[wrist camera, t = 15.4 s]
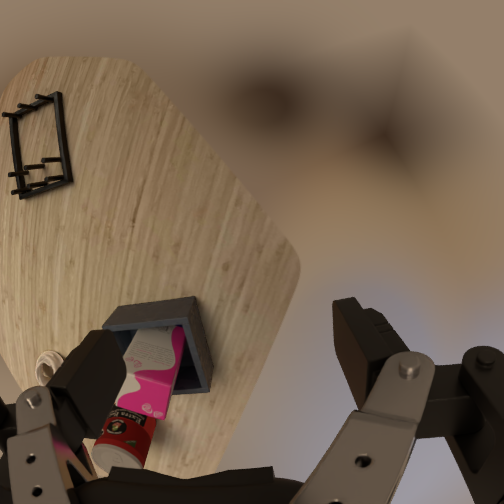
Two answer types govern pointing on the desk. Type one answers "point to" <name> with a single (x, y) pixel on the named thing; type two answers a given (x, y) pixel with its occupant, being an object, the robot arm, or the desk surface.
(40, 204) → the desk surface
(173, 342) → the supplement box
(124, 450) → the canned food
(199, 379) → the dark grey storage bin
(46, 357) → the cream coiled cloth
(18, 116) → the dish rack
